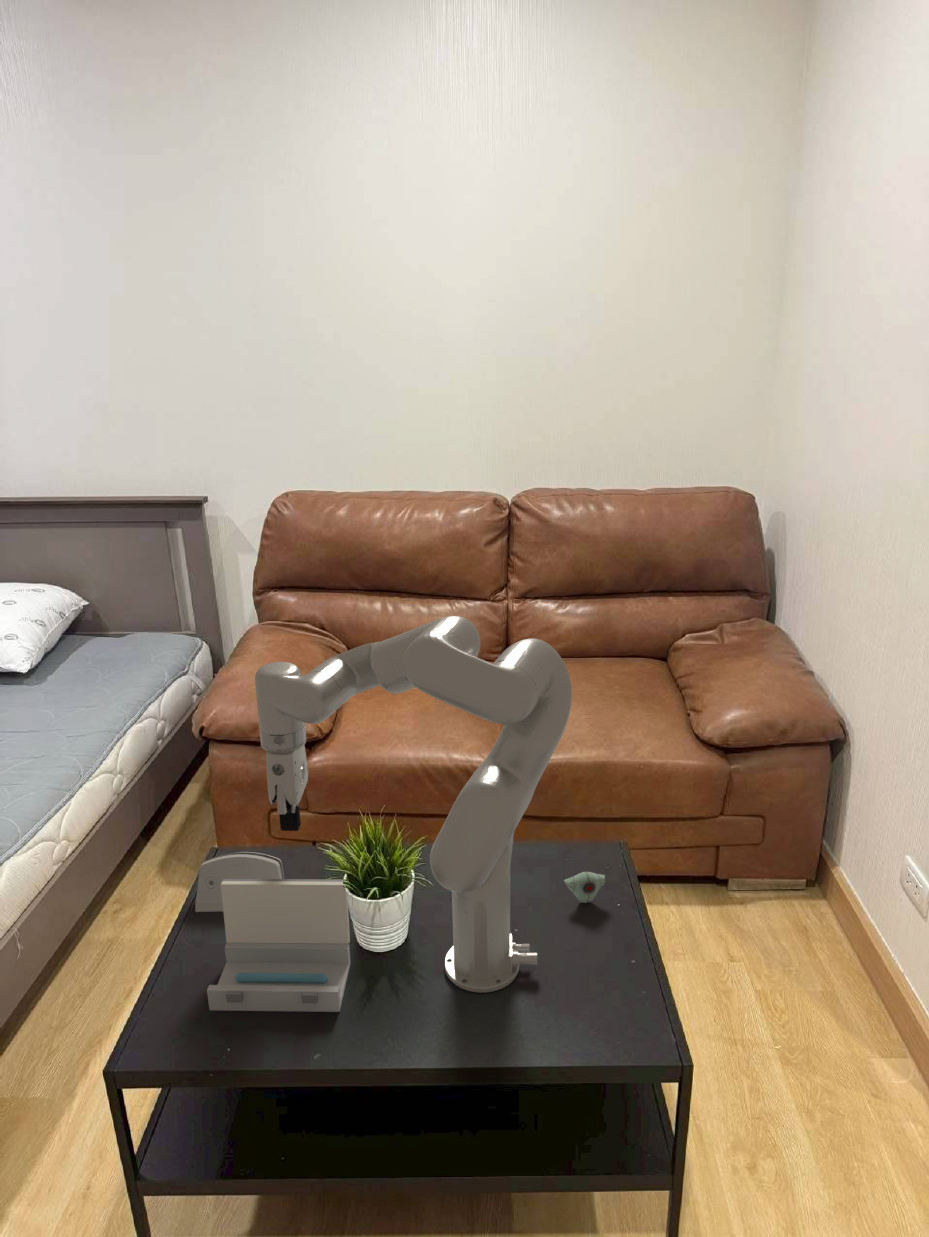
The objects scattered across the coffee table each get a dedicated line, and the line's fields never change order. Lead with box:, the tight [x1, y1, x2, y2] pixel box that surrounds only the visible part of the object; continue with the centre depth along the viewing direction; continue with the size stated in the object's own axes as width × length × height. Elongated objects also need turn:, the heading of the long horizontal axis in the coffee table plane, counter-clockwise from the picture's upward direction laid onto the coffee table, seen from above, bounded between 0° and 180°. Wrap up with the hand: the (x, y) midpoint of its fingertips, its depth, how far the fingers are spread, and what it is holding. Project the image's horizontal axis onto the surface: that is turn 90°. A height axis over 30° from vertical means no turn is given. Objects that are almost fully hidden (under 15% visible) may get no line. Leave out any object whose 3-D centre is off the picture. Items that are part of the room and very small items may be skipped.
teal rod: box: [235, 973, 328, 983], centre depth 148 cm, size 15×1×1 cm, turn 88°
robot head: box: [563, 871, 606, 904], centre depth 166 cm, size 8×4×7 cm, turn 100°
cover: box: [221, 878, 351, 945], centre depth 151 cm, size 21×11×2 cm
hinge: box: [194, 851, 285, 913], centre depth 169 cm, size 17×5×10 cm, turn 90°
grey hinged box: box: [206, 942, 351, 1013], centre depth 147 cm, size 21×12×4 cm, turn 88°
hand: (290, 828), depth 157 cm, fingers closed
